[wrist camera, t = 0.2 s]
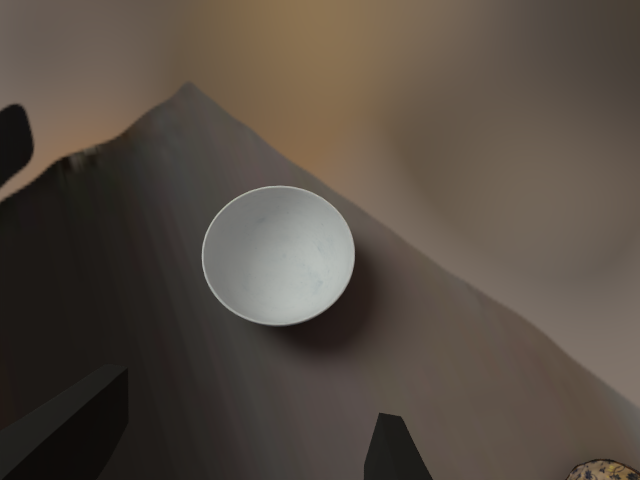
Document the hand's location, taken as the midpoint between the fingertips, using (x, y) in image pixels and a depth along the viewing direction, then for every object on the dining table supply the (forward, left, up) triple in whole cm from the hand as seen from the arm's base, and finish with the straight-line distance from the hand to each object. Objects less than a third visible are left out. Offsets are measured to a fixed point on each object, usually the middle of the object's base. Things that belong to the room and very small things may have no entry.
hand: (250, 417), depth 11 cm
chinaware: (+16, +2, -32) cm, 35 cm away
